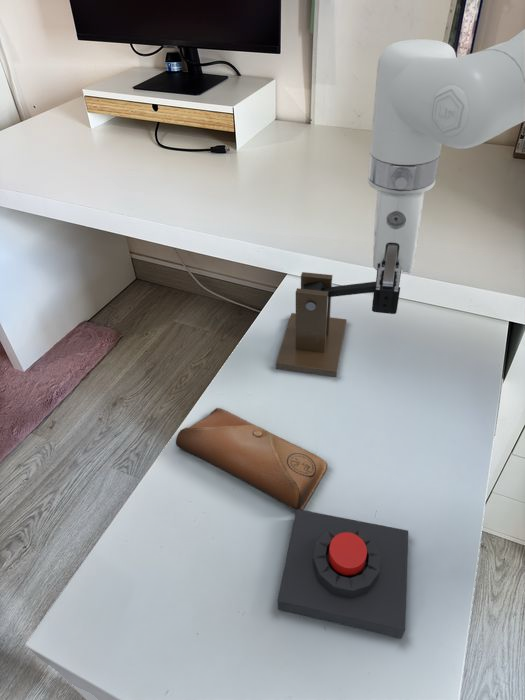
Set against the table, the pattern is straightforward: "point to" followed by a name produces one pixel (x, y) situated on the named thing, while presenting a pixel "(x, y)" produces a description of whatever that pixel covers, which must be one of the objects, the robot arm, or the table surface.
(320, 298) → the bracket
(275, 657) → the table surface
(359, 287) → the lever
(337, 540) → the stop button
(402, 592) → the stop block
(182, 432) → the sunglasses case
